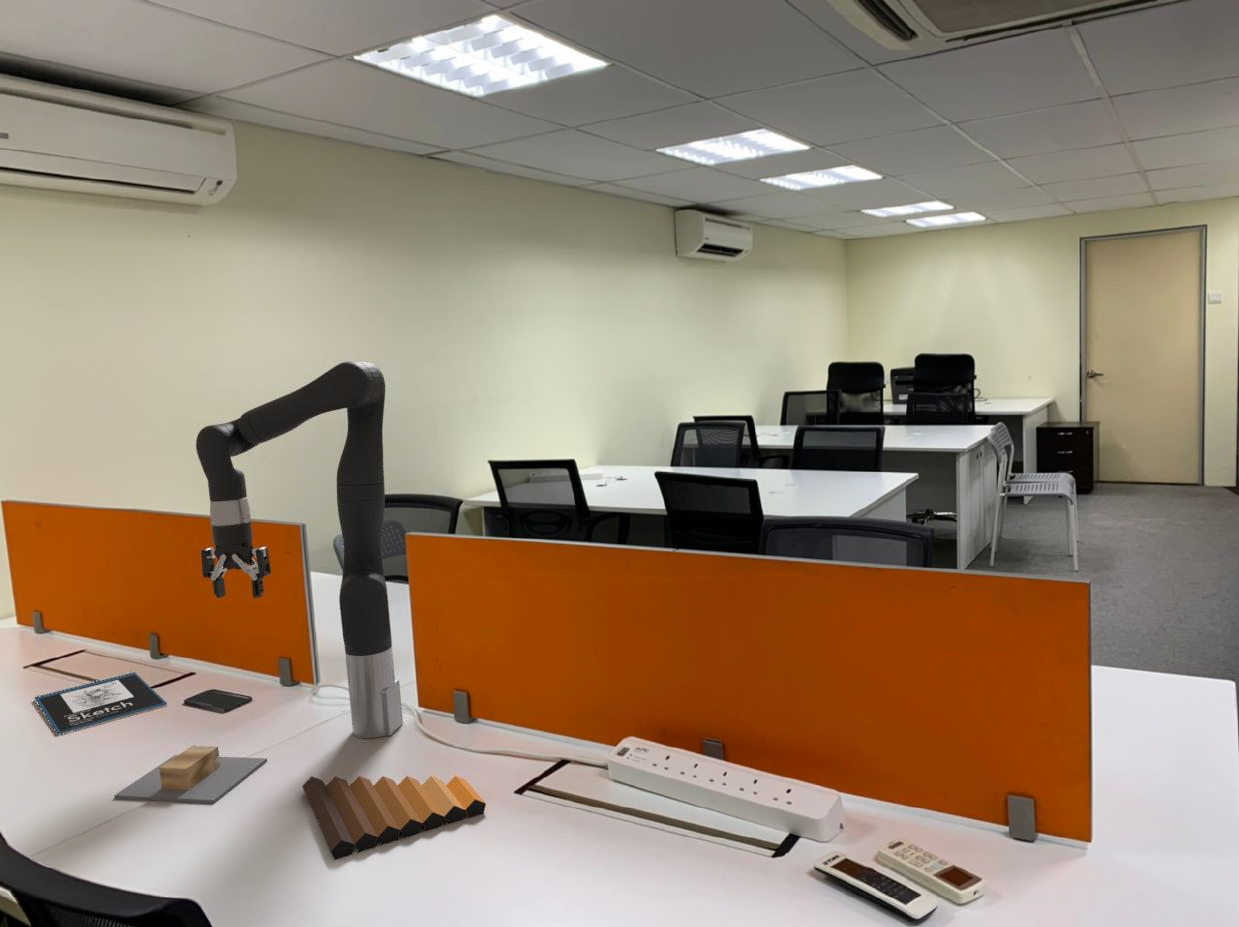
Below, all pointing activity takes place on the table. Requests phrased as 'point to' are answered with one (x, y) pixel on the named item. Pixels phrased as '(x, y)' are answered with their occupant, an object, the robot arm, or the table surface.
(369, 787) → the ridged wooden panel
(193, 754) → the block
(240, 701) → the phone
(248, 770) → the mat
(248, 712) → the table surface
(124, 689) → the sketchbook
